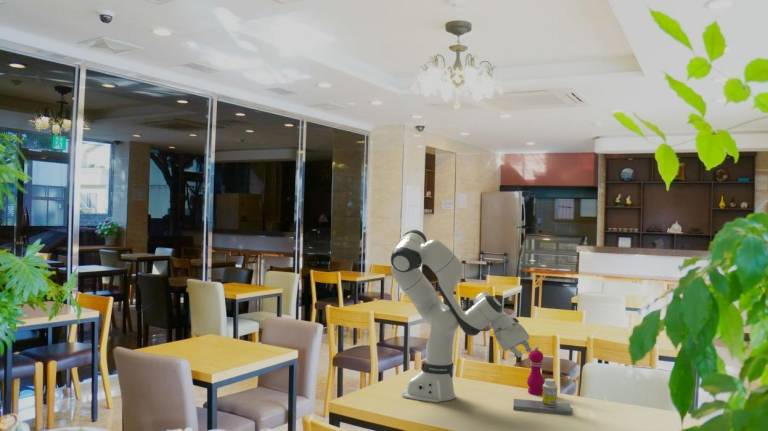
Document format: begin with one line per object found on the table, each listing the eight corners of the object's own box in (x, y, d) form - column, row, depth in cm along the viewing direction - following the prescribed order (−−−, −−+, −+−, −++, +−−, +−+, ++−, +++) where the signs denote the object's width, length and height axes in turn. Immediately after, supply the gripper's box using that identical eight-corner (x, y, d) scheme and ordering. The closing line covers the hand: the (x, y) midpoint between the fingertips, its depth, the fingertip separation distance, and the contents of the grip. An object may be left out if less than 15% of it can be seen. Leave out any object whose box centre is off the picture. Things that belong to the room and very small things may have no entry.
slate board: (513, 409, 235) (513, 406, 235) (513, 402, 245) (513, 398, 245) (571, 415, 230) (571, 411, 230) (569, 407, 240) (569, 403, 240)
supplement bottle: (546, 402, 241) (546, 377, 241) (559, 405, 237) (559, 379, 237) (539, 405, 237) (540, 379, 237) (553, 408, 233) (553, 382, 233)
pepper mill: (544, 396, 255) (545, 349, 255) (527, 394, 256) (528, 348, 256) (543, 391, 262) (544, 345, 262) (526, 390, 263) (527, 344, 263)
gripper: (497, 325, 237) (520, 354, 231) (518, 317, 253) (540, 344, 247) (487, 335, 239) (509, 363, 234) (508, 326, 256) (530, 353, 250)
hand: (525, 353), depth 241 cm, fingers open, 8 cm apart
